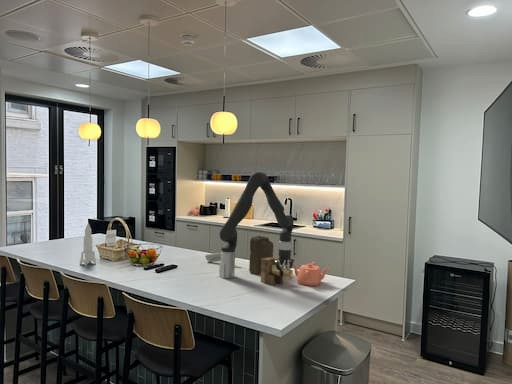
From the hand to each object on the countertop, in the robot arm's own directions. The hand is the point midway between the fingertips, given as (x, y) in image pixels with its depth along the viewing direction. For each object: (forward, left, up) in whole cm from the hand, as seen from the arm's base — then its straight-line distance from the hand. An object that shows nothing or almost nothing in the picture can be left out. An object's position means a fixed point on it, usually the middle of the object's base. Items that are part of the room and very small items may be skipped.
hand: (283, 276), depth 228 cm
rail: (0, +2, 0) cm, 2 cm away
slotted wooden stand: (0, +11, -7) cm, 13 cm away
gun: (-7, +68, -7) cm, 69 cm away
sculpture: (-92, +109, -7) cm, 143 cm away
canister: (+8, +36, -7) cm, 37 cm away
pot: (+21, 0, -7) cm, 22 cm away
